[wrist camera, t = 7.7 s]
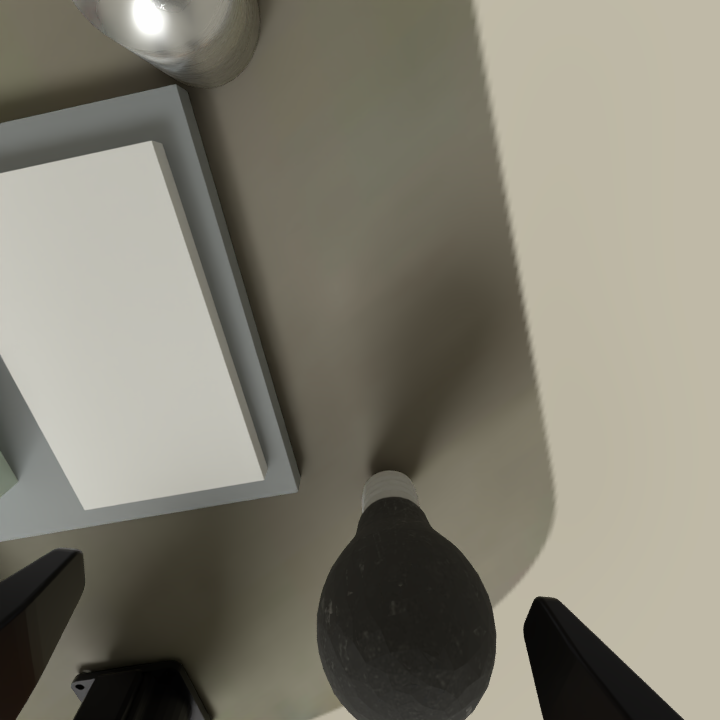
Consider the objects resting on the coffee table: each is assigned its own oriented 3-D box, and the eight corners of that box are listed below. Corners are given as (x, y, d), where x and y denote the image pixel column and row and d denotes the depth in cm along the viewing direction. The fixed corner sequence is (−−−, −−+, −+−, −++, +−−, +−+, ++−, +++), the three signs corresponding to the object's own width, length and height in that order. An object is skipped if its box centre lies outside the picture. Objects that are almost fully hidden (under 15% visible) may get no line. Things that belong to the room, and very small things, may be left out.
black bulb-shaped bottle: (451, 430, 19) (545, 655, 10) (440, 527, 21) (508, 787, 12) (328, 429, 19) (305, 655, 10) (328, 526, 21) (310, 789, 12)
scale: (300, 478, 20) (283, 573, 15) (3, 528, 21) (-107, 634, 16) (187, 91, 14) (96, 36, 9) (-220, 181, 15) (-509, 176, 10)
